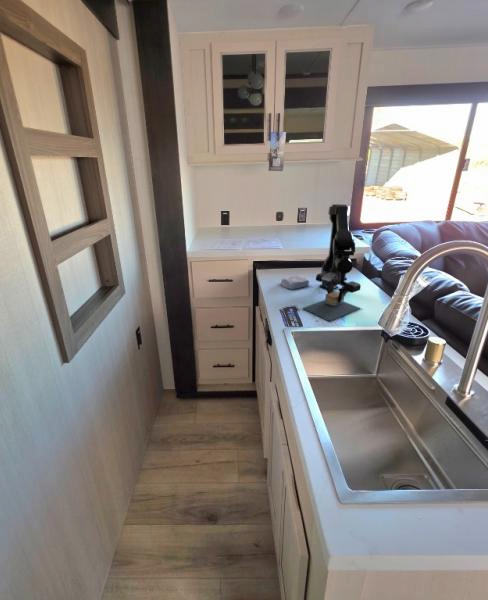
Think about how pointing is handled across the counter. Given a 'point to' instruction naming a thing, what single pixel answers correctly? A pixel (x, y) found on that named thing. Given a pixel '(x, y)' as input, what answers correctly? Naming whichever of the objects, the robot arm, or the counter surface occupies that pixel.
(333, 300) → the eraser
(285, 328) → the counter surface
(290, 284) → the stone block
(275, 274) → the counter surface
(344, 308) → the slate mat
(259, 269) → the counter surface
